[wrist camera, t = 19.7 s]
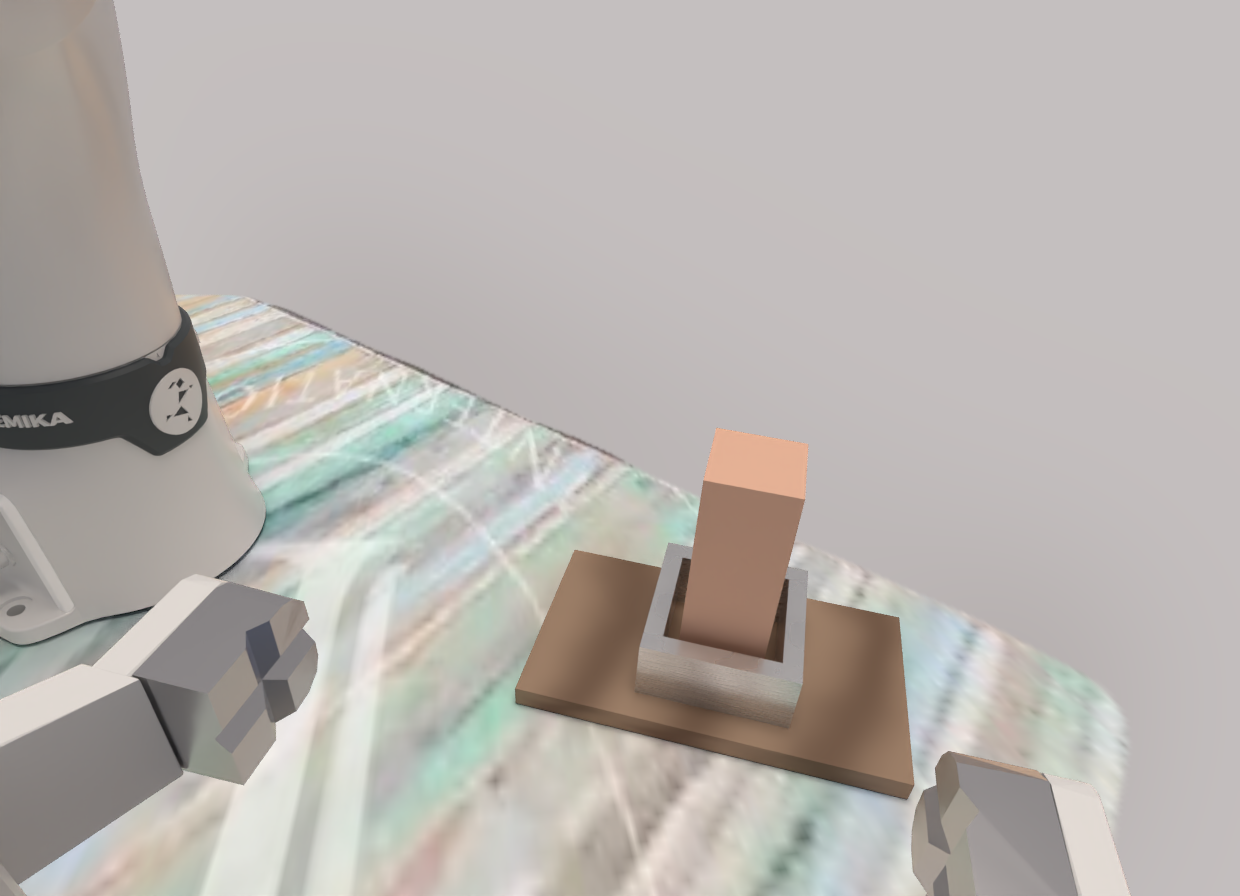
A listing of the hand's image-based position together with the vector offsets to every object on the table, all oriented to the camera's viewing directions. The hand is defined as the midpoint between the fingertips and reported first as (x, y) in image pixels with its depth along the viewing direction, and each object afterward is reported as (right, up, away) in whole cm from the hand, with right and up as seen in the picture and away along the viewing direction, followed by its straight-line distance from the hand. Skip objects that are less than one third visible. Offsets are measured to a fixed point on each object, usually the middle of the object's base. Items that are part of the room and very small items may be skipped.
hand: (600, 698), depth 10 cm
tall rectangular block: (+6, -8, +32) cm, 34 cm away
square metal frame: (+6, -8, +32) cm, 34 cm away
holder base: (+6, -9, +33) cm, 35 cm away
